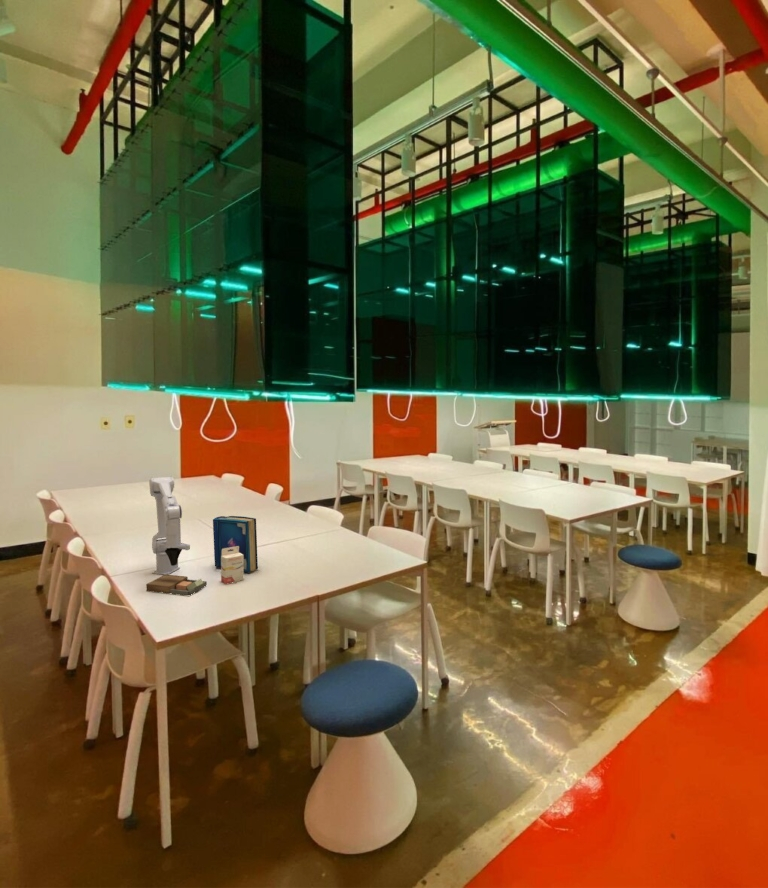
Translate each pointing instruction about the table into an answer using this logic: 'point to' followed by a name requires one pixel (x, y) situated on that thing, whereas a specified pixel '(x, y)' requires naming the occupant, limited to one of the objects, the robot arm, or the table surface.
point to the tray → (183, 592)
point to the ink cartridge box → (232, 565)
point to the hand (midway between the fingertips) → (174, 564)
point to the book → (236, 539)
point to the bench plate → (165, 583)
